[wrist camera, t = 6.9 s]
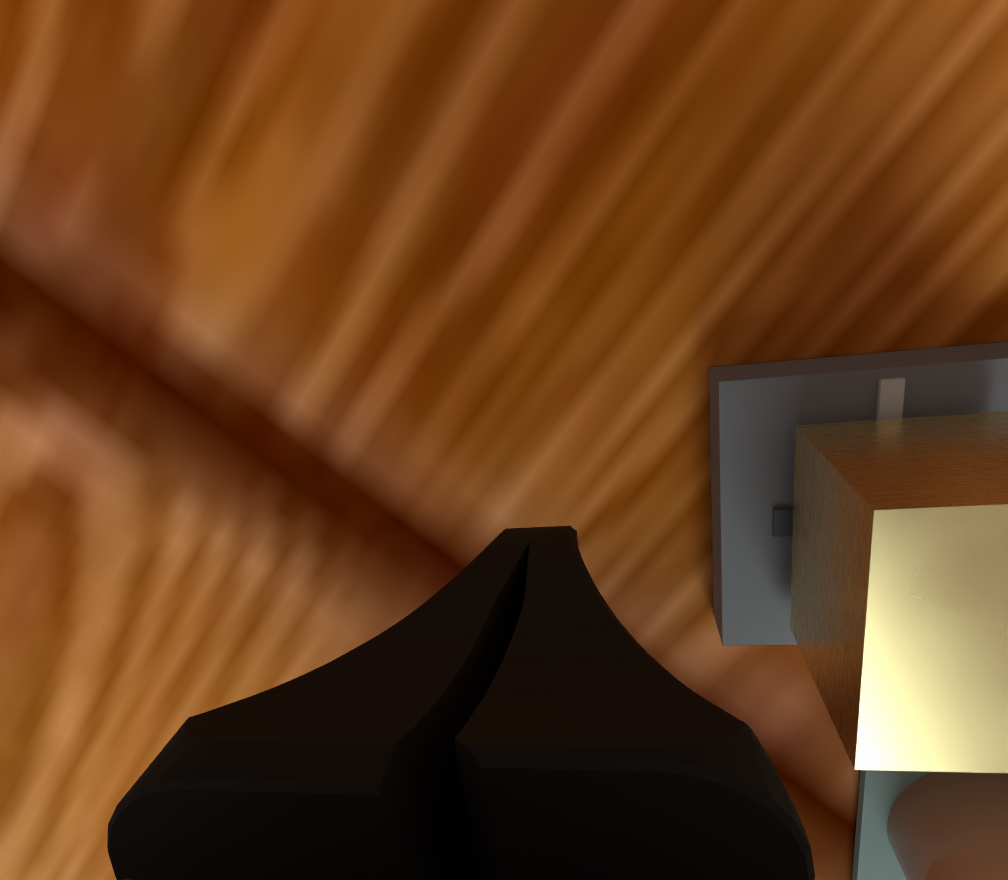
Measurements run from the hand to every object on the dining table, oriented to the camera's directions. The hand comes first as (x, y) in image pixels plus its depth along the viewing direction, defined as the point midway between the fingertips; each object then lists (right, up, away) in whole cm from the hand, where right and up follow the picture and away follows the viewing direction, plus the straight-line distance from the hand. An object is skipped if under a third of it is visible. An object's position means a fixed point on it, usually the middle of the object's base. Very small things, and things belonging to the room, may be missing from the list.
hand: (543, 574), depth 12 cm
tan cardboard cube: (+7, +1, 0) cm, 7 cm away
